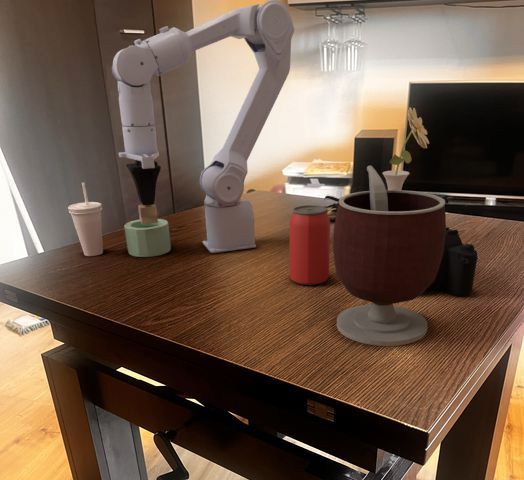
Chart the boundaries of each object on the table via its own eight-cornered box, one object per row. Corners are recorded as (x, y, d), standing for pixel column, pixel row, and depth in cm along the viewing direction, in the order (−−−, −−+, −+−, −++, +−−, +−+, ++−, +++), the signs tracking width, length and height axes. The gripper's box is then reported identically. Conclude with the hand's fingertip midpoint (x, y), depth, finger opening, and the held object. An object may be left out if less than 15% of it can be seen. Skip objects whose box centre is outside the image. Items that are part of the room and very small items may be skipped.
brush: (155, 219, 103) (150, 170, 99) (158, 222, 101) (152, 173, 96) (139, 220, 102) (134, 172, 98) (142, 224, 100) (136, 174, 96)
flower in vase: (396, 255, 100) (409, 111, 89) (350, 244, 108) (356, 109, 96) (435, 241, 108) (451, 106, 96) (389, 231, 116) (399, 105, 104)
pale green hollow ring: (167, 242, 113) (164, 216, 111) (174, 253, 106) (171, 226, 104) (126, 247, 111) (122, 221, 109) (130, 259, 104) (126, 231, 101)
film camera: (372, 276, 91) (375, 224, 87) (418, 267, 94) (423, 216, 90) (431, 307, 79) (439, 248, 74) (481, 295, 82) (491, 238, 78)
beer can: (302, 289, 87) (303, 215, 81) (282, 277, 92) (281, 207, 86) (336, 281, 89) (338, 209, 84) (315, 270, 94) (316, 202, 89)
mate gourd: (451, 343, 68) (475, 182, 59) (347, 353, 67) (355, 190, 57) (404, 298, 82) (418, 162, 72) (317, 306, 80) (319, 168, 71)
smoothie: (100, 258, 105) (87, 185, 98) (71, 257, 106) (56, 185, 100) (115, 249, 110) (103, 179, 104) (86, 248, 112) (73, 179, 105)
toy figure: (306, 229, 120) (365, 218, 124) (303, 200, 118) (364, 190, 122) (294, 225, 127) (351, 215, 130) (292, 198, 124) (349, 189, 128)
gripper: (111, 123, 99) (121, 198, 105) (119, 129, 86) (130, 213, 93) (149, 122, 101) (157, 195, 107) (163, 127, 88) (170, 210, 95)
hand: (147, 203), depth 100 cm, fingers closed on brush
